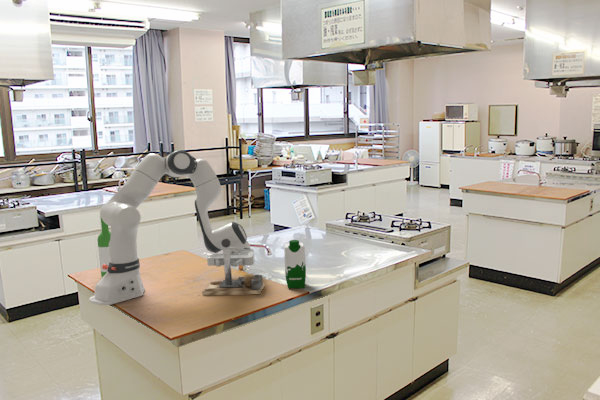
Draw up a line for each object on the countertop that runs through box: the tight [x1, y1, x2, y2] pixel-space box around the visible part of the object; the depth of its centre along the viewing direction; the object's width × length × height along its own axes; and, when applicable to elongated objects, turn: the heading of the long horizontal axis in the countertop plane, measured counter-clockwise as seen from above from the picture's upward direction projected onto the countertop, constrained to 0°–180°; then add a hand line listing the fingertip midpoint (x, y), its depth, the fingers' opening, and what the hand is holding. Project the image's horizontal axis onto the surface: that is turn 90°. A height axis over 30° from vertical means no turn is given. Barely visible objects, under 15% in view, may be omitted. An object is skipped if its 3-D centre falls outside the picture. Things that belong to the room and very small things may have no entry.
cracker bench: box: [201, 274, 265, 296], centre depth 207 cm, size 24×10×6 cm, turn 84°
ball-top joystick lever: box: [219, 239, 245, 288], centre depth 205 cm, size 9×7×21 cm
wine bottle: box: [97, 216, 111, 279], centre depth 233 cm, size 8×8×30 cm
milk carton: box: [283, 239, 307, 290], centre depth 208 cm, size 9×9×20 cm
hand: (226, 264), depth 205 cm, fingers open, 6 cm apart
